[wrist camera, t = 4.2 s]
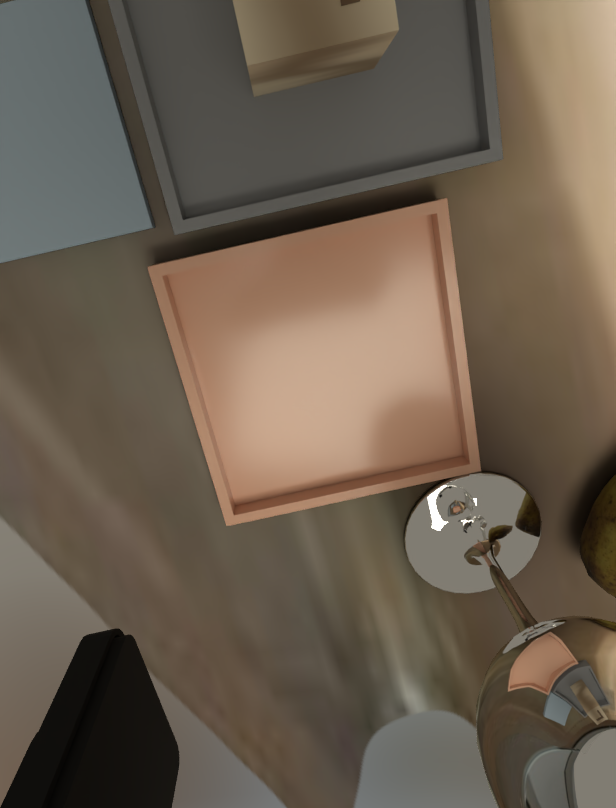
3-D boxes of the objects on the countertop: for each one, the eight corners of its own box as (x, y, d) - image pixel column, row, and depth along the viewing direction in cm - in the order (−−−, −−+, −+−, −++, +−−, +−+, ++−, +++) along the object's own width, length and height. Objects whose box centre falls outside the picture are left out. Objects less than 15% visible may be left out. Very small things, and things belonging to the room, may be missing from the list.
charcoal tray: (449, -255, 20) (462, -292, 18) (490, 162, 24) (503, 159, 23) (69, -161, 20) (53, -189, 19) (180, 233, 25) (174, 235, 23)
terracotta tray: (437, 199, 25) (446, 197, 23) (471, 458, 29) (481, 470, 27) (154, 263, 25) (147, 266, 24) (229, 511, 29) (226, 526, 28)
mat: (85, -10, 22) (80, -16, 21) (155, 227, 24) (152, 227, 24) (-136, 44, 22) (-147, 39, 21) (-41, 272, 25) (-48, 273, 24)
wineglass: (463, 615, 32) (724, 1186, 13) (371, 536, 30) (527, 1076, 11) (570, 529, 31) (1037, 1036, 12) (481, 440, 29) (874, 878, 10)
